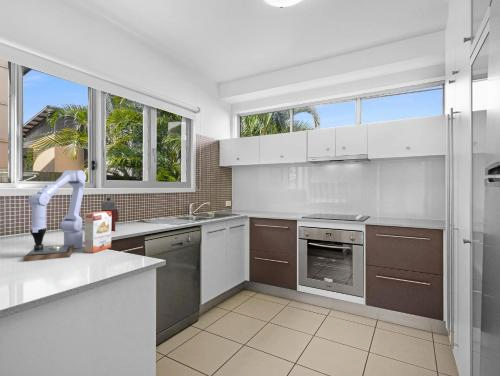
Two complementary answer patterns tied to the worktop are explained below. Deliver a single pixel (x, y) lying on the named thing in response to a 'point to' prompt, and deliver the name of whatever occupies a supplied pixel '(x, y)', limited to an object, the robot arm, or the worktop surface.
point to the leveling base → (49, 255)
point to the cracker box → (97, 231)
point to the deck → (49, 249)
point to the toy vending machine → (111, 207)
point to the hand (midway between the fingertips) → (38, 245)
